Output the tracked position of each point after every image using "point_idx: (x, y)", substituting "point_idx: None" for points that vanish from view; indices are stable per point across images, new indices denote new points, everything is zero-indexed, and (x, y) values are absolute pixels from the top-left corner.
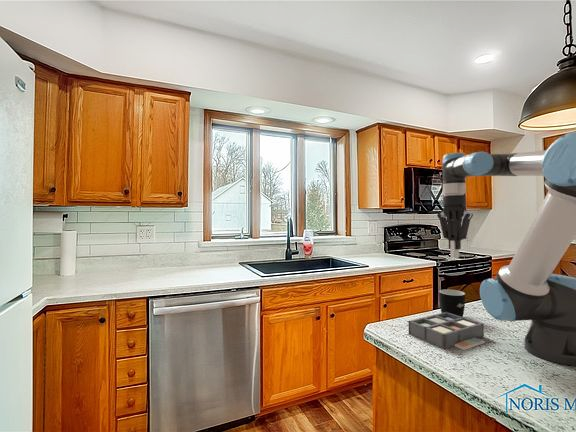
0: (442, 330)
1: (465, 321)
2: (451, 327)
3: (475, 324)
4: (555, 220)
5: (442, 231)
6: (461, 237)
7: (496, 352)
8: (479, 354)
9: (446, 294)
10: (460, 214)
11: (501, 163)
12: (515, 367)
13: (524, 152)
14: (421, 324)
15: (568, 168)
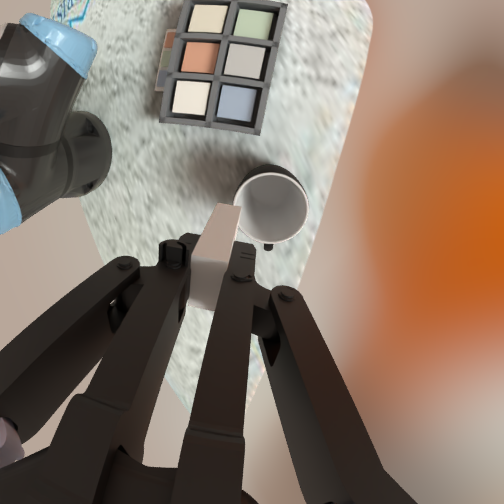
0: (204, 16)
1: (195, 109)
2: (207, 59)
3: (167, 100)
4: None
5: (320, 338)
6: (114, 263)
7: (128, 70)
8: (144, 38)
9: (272, 172)
10: (6, 469)
11: None
12: (97, 48)
13: None
14: (266, 25)
15: None
